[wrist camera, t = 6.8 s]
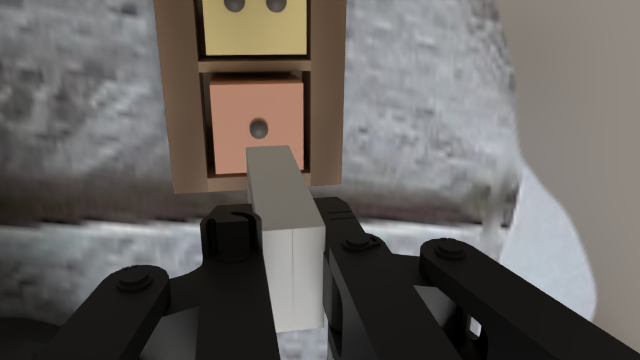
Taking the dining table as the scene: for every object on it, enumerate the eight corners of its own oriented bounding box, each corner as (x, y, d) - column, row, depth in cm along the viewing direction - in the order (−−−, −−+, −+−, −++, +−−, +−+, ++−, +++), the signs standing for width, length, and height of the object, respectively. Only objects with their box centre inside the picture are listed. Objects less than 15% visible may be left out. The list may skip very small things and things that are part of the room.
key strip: (180, 170, 28) (174, 193, 25) (141, -222, 22) (125, -265, 18) (328, 162, 30) (341, 184, 26) (333, -205, 23) (352, -241, 20)
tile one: (217, 156, 27) (216, 175, 24) (211, 76, 25) (209, 85, 22) (295, 152, 28) (303, 170, 25) (295, 74, 26) (303, 83, 23)
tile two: (208, 48, 24) (206, 55, 21) (201, -51, 22) (197, -58, 19) (297, 48, 25) (307, 54, 22) (296, -48, 23) (306, -55, 20)
